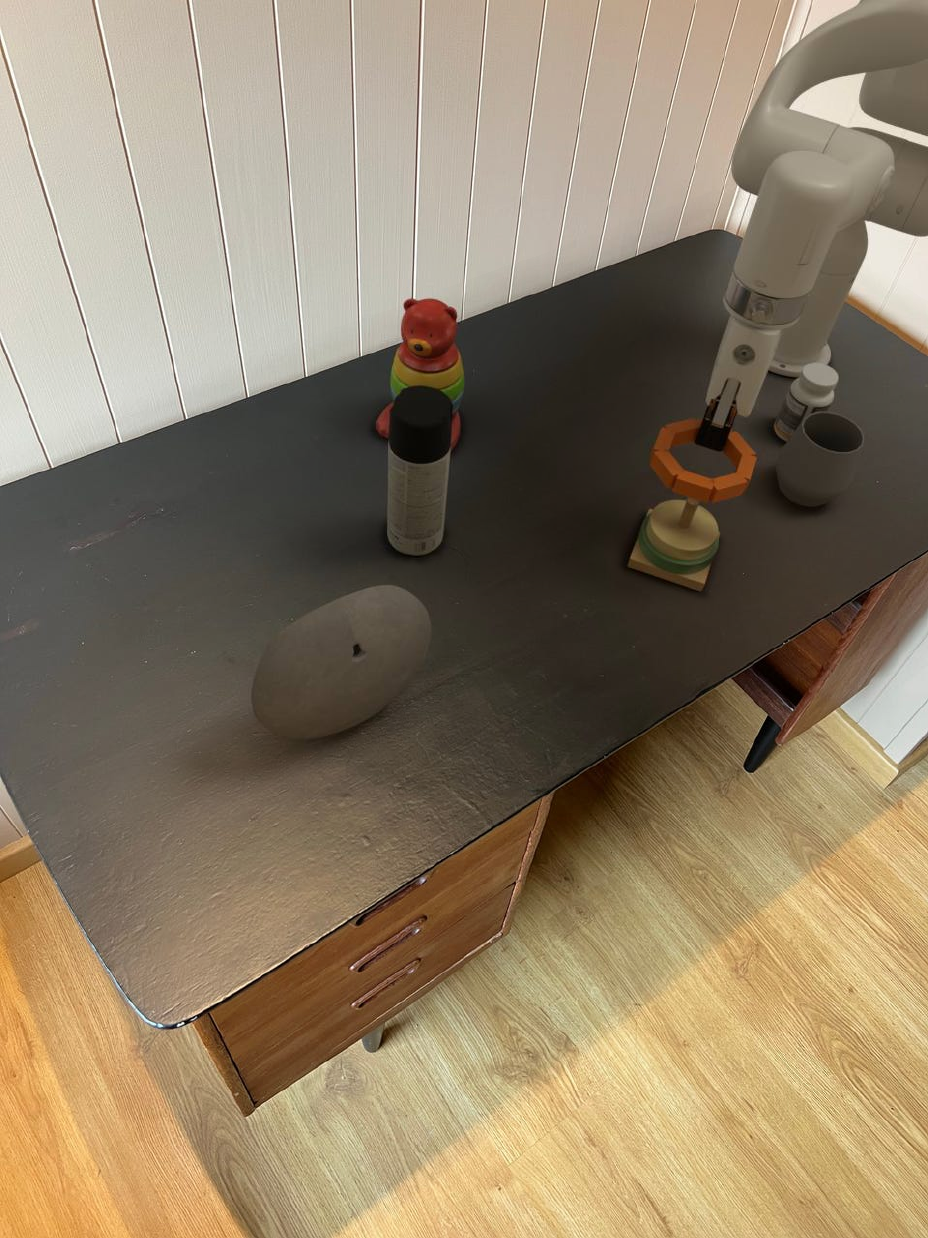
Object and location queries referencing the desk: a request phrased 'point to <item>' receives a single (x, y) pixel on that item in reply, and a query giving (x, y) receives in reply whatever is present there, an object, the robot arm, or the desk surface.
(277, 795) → the desk surface
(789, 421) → the pill bottle
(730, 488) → the orange ring
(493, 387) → the desk surface
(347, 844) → the desk surface
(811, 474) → the cup
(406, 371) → the stacking bear
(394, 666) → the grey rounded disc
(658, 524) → the stacker
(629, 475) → the desk surface
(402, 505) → the spray can
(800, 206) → the robot arm
